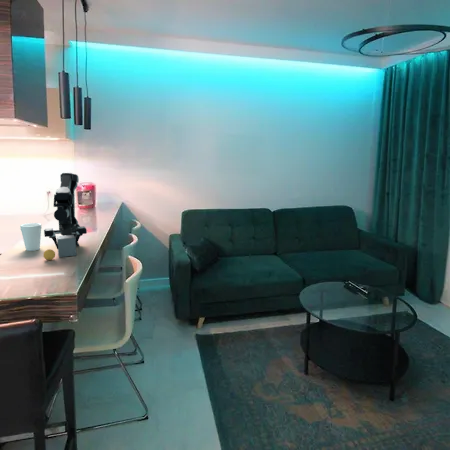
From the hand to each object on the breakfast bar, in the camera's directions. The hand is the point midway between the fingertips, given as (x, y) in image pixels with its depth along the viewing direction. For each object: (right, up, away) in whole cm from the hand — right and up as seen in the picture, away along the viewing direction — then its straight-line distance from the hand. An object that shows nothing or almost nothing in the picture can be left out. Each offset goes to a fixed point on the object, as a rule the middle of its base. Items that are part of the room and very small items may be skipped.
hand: (66, 248), depth 170 cm
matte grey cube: (0, -3, +1) cm, 3 cm away
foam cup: (-22, -1, +9) cm, 24 cm away
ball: (-4, -2, -9) cm, 10 cm away
